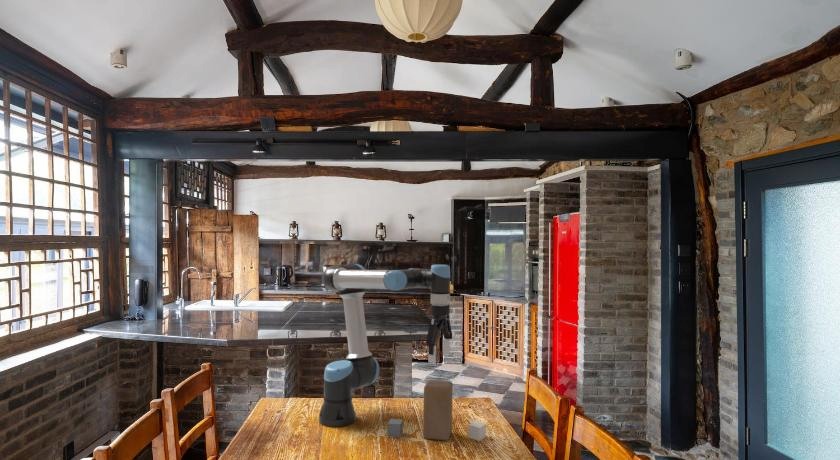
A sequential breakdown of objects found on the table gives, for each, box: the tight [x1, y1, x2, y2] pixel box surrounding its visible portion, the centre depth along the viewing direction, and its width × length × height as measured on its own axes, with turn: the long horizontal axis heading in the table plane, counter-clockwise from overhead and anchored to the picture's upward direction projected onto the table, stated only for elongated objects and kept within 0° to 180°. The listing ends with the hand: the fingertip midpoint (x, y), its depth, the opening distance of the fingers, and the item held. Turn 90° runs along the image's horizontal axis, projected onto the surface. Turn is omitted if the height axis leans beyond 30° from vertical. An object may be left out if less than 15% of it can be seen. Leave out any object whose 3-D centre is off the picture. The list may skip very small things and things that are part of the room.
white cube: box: [467, 420, 487, 442], centre depth 187 cm, size 5×5×5 cm
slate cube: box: [386, 418, 404, 438], centre depth 188 cm, size 5×5×5 cm
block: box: [422, 379, 454, 441], centre depth 188 cm, size 10×10×20 cm
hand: (439, 359), depth 188 cm, fingers open, 13 cm apart
